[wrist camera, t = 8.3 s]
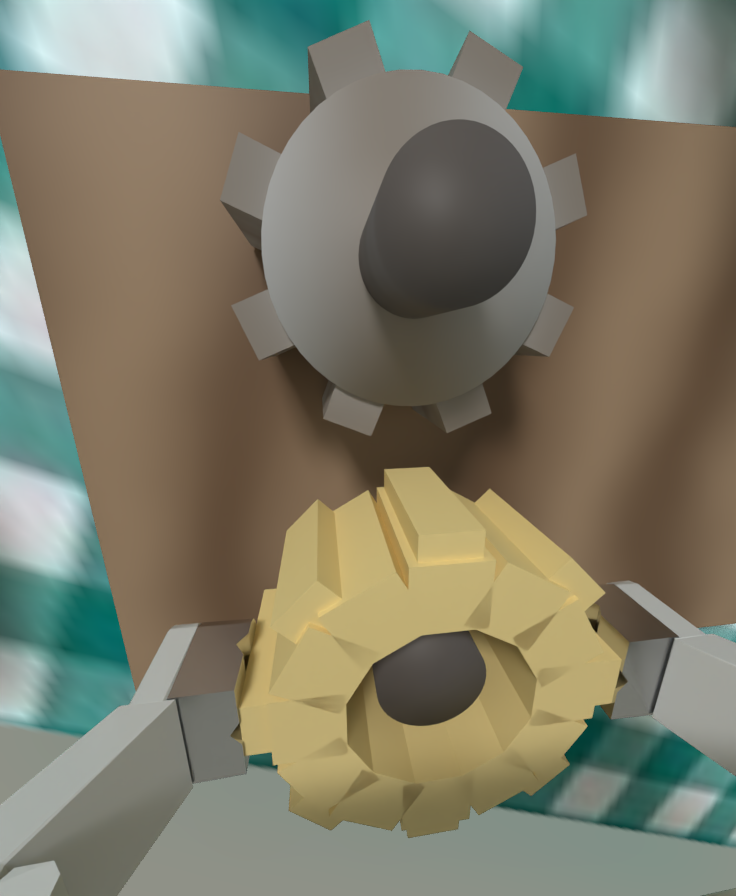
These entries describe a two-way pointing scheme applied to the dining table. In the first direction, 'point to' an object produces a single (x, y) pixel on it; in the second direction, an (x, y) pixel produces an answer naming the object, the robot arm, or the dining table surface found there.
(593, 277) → the gear board
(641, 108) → the dining table surface
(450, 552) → the loose gear
